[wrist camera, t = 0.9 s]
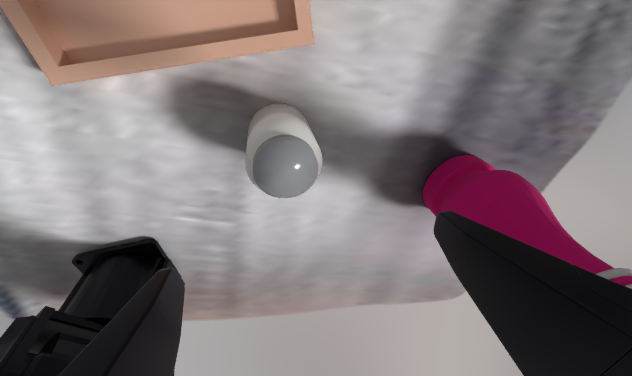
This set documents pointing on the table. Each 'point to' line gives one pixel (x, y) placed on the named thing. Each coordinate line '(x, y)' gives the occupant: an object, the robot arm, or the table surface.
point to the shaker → (282, 151)
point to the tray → (151, 33)
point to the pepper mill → (509, 211)
